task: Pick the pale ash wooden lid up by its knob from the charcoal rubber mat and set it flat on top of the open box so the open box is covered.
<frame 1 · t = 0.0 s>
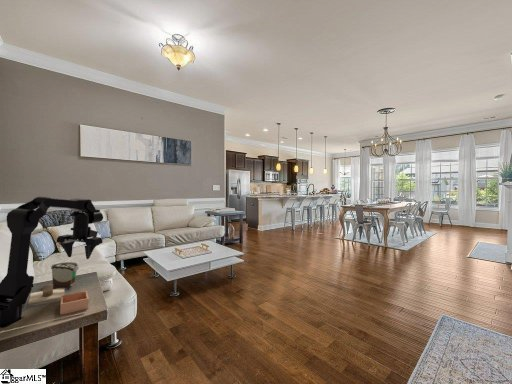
hand: (78, 257, 108), 15 cm above the table, fingers open, 9 cm apart
lid: (47, 297, 97), point 1 cm above the table, touching mat
mat: (47, 298, 97), on the table
open box: (74, 308, 91), on the table
food container: (67, 284, 111), on the table
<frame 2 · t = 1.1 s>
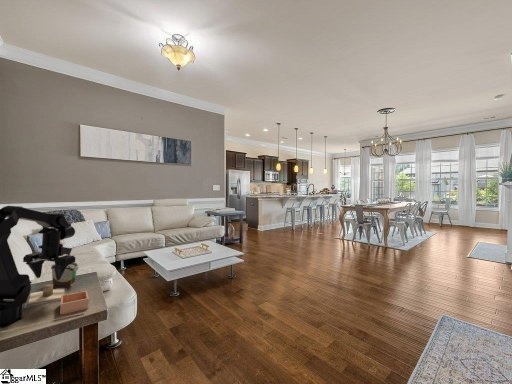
hand: (48, 278, 97), 9 cm above the table, fingers open, 9 cm apart
nothing on the table moved.
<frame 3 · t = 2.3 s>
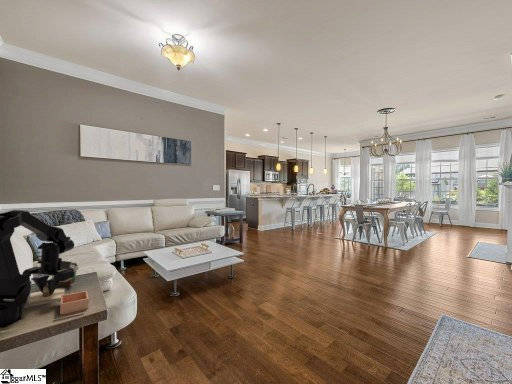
hand: (47, 293, 97), 2 cm above the table, fingers closed on lid, 3 cm apart
lid: (47, 297, 97), point 1 cm above the table, touching gripper, mat
everything else where it was.
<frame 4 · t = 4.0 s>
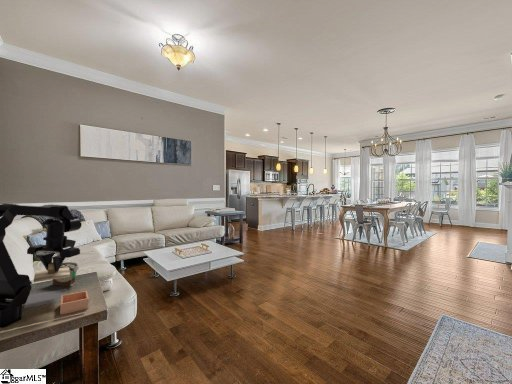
hand: (52, 271, 96), 12 cm above the table, fingers closed on lid, 3 cm apart
lid: (52, 275, 96), point 11 cm above the table, touching gripper
everything else where it was.
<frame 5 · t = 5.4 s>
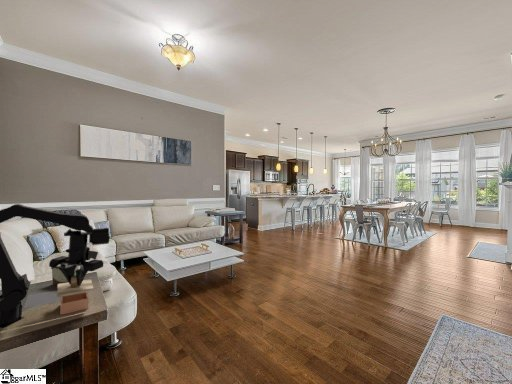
hand: (75, 284, 91), 10 cm above the table, fingers closed on lid, 3 cm apart
lid: (75, 288, 91), point 8 cm above the table, touching gripper
everything else where it was.
when the fingers open (7 cm above the table, at t = 6.0 s): lid stays where it is, resting on open box.
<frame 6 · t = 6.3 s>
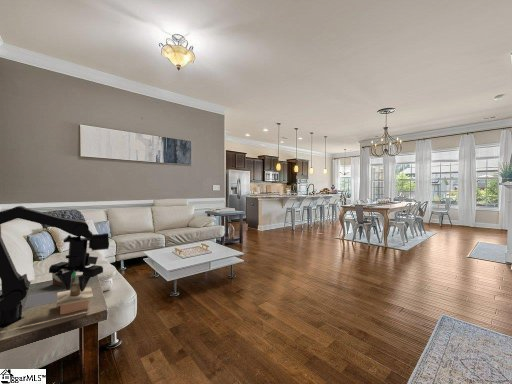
hand: (75, 290, 91), 7 cm above the table, fingers open, 6 cm apart
lid: (74, 296, 92), point 4 cm above the table, touching open box
everything else where it was.
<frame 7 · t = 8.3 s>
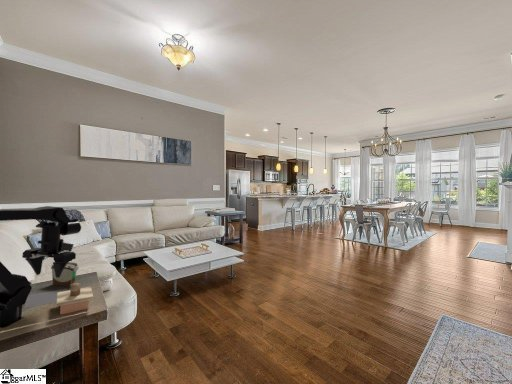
hand: (48, 275, 92), 12 cm above the table, fingers open, 9 cm apart
nothing on the table moved.
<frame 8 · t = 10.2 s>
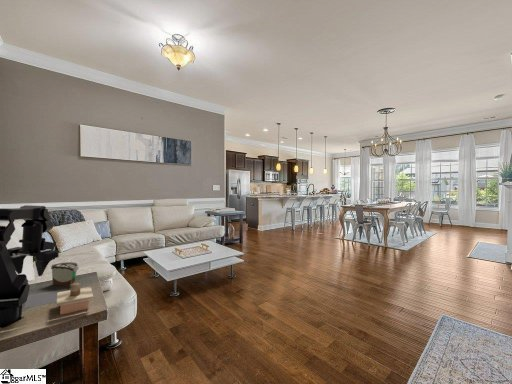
hand: (29, 274, 92), 12 cm above the table, fingers open, 9 cm apart
nothing on the table moved.
at the end: lid 0.1 cm off-centre on the open box, point 4.5 cm above the open box's base; lid tilted 0°; the gripper is holding nothing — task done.
